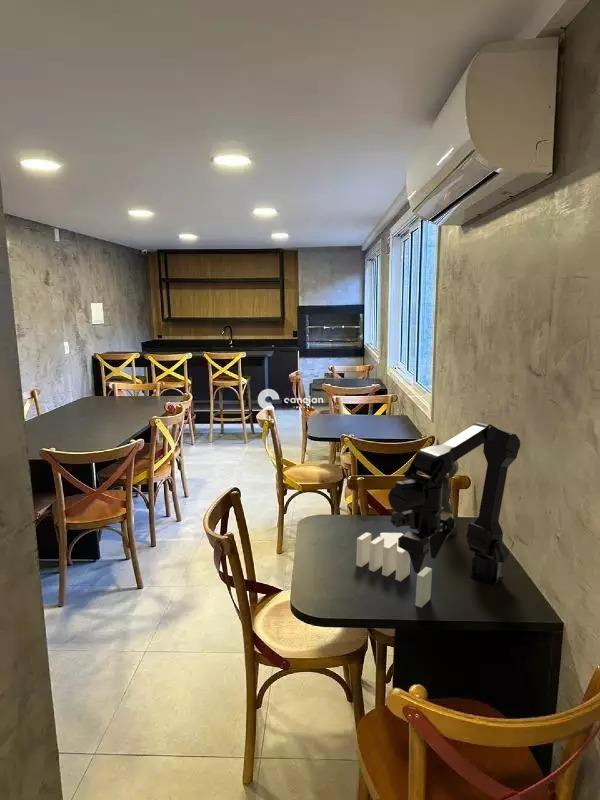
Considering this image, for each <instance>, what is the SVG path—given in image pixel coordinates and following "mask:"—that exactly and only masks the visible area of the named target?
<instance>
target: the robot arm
mask: <svg viewBox="0 0 600 800" xmlns="http://www.w3.org/2000/svg"><path fill="white" fill-rule="evenodd" d="M482 444H483V447H482V448H483V449H482V451H483V455H484V457H485V460H486V463H487V464H486V471H485V477H484V482H483V489H482V495H481V500H480V506H479V510H478V516H477V518H476V519H475V520H474V521H473V522H469V523H468V526H467V532H466V535H465V537H466V542H467V544H468V548H469V551H470V552H473V553H474V556H472V558H471V574H470V577H471V578H472V579H475V580H479V581H482V582H485V583H487V584H491V585H497V583H498V581H500V580H501V578H502V577H503V573H502V572H501V569H502V563H503V564H504V563H505V561H507V560H508V558H509V554H510V550H509V549H508V548H507V547H506V545H505V544H504V543H503V539H504V538H503V535H504V533H503V530H502V528H501V527H502V526H501V525H500V521H499V520H500V514H501V508H502V503H503V497H504V492H505V485H506V480H507V474H508V469H509V466H511V464H512V463H513V462H515V460H516V459H517V457H518V454H519V450H520V449H521V448H520V447H521V439H520V438H519V436H518V435H517V434H516V433H511V432H507V431H505V430H501V429H500V428H497V427H496V426H495V425H493V424H490V423H487V422H482V421H476V422H475V421H474V423H472V425H471V426H470V427H468V428H467V429H465V430H463V431H462V432H460V433H459V434H457V435H455V436H454V437H452V438H450V439H448V440H447V441H445V442H444V443H441V444H438V445H437V444H436V445H430V446H427V447H424V448H421V449H419V450H418V451H417V452H415V456H414V458H413V459H412V461H411V463H410V465H409V466H408V468H407V469H406V470H407V471H406V472H405V474H404V479H406V480H401V481H395V485H394V487H392V488H391V489H390V490H389V493H388V495H387V497H388V498H387V499H388V503H389V506H390V508H391V509H392V510H393V512H391V515H390V520H389V521H390V523H391V524H392V525H393V526H394V527H395V528H397V529H398V528H401V527H407V526H408V527H409V529H411V530H416V532H413V531H411V530H408V531H406V532H405V533H404V534H403V535H402V536H401V537H400V538H398V547H399V548H402V549H403V550H406V551H407V552H408V553H409V555H410V563H411V566H412V569H413V571H414V573H416V574H418V573H420V572H421V571H422V570H423V566H424V564H425V562H426V559H427V557H428V554H429V553H430V558H431V559H435V560H436V558H437V556H438V555H439V553H440V551H441V550H442V548H443V546H444V544H445V543H446V541H447V539H448V538H449V537H450V535H449V534H450V533H451V530H452V529H453V528H454V520H453V519H452V517H451V516H447V515H443V514H441V513H443V512H444V507H441V502H442V485H444V484H448V483H449V480H448V479H446V478H445V475H446V474H447V473H449V472H450V471H451V470H452V469H453V465H454V462H455V461H457V462H458V460H459V459H461V458H462V457H464V456H466V455H467V454H468V453H470V452H472V451H473V450H475V449H477V448H478V447H480V446H481V445H482ZM419 473H420V474H419ZM421 474H422V475H421ZM423 475H425V476H423ZM427 476H428V477H427Z"/></svg>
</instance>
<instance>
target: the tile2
mask: <svg viewBox="0 0 600 800" xmlns="http://www.w3.org/2000/svg"><path fill="white" fill-rule="evenodd" d="M410 572H411V558H410V555H409V553H408V552H407V551H406V550H403V549H402V548H400V549H399V550H398V551H397V557H396V570H395V579H394V580H397V581H398V582H402V581H403V580H405V579H406V578H407V577H408V576H409V575H410Z"/></svg>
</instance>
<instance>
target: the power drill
mask: <svg viewBox="0 0 600 800" xmlns="http://www.w3.org/2000/svg"><path fill="white" fill-rule="evenodd" d="M458 471H459V461H458V460H457V461H455V462H454V465H453V469H452V470H451V471H450V472H449V473H447V474H446V475H445V478H446V479H448V480H449V483H448V484H444V485H442V502H441V507H444V512H443V513H441V514H443V515H447V516H451V517H452V519H453V520H454V528H453V529H452V530H451V533H450V534H449V536H454V535H456V532H457V531H456V530H457V523H456V515H455V508H454V506H453V505H452V504H451V503H450V499H451V498H450V497H451V494H450V492H451V485H452V484H451V483H452V481H451V480H452V478H453V477H454V476H455V475H456V474H458V473H457V472H458Z"/></svg>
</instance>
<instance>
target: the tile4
mask: <svg viewBox="0 0 600 800" xmlns="http://www.w3.org/2000/svg"><path fill="white" fill-rule="evenodd" d="M383 546H384V538H383V537H381V536H380V535H378V536H377V537H376V538H374V539H373V540H371V542H370V555H369V562H368V571H371V572H376V571H378V570H379V569H380V568H381V567H382V562H383Z"/></svg>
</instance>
